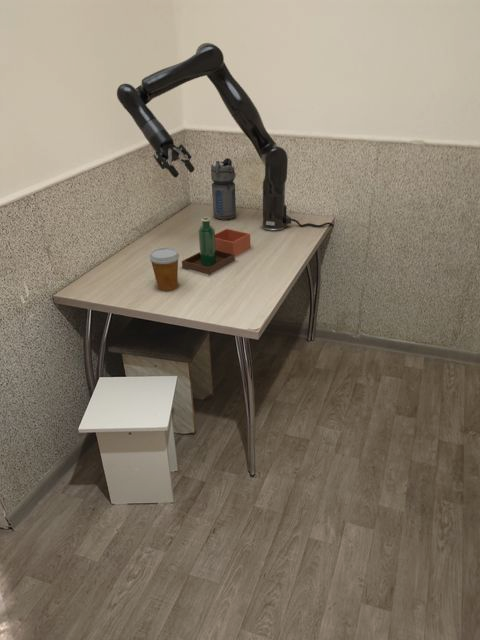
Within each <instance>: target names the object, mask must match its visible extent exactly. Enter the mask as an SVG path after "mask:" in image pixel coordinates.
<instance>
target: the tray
mask: <svg viewBox="0 0 480 640" xmlns="http://www.w3.org/2000/svg"><path fill="white" fill-rule="evenodd" d="M235 261H236V256H235V254H231V253H227V252H223V251H219V250H216V264H214V265H213V266H203V265H201V260H200V251H199V252H197V253H195V254H193V255H191V256H189V257H187V258H184V259H183V260H181V267H182V269H185V270H187V271H189V270H190V271H194V272H198V273H201V274H204V275H207V276H208V277H209V276H211V275H212V274H214V273H215V272H217V271H219V270H221V269H222V268H224V267H226V266H228V265H229V264H232V263H234V262H235Z"/></svg>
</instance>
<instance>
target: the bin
mask: <svg viewBox="0 0 480 640" xmlns="http://www.w3.org/2000/svg"><path fill="white" fill-rule="evenodd" d="M215 248H216V250H219V251H223V252H227V253H231V254H235V257H236V256H238V255H239V254H241V253H244V252H245V251H247V250H249V249H251V233H248V232H243V231H239V230H235V229H231V228H225V229H222V230H220V231H218V232H215Z"/></svg>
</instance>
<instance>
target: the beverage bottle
mask: <svg viewBox="0 0 480 640" xmlns="http://www.w3.org/2000/svg"><path fill="white" fill-rule="evenodd" d="M232 162H233V161H232V159H230V158H228V157H227V158H224V159H223V161H221V162H220V161H219V160H217V161H216V162H215V165H214V164H211V166H210V177H211V178H210V179H211V181H212V182H213V183H211V198H212V213H213V217H214V218H215V219H217V220H221V221H227V220H232V219H234V218H235V217H236V215H237V203H236V183H235V182H234V181H235V180H236V172H235V171H236V170H235V167H234V166H233V165H232V164H233V163H232Z"/></svg>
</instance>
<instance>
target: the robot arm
mask: <svg viewBox="0 0 480 640" xmlns="http://www.w3.org/2000/svg"><path fill="white" fill-rule="evenodd" d="M202 77H207V78H208V79H209V81H210V82H211V83H212V85H213V86H214V88H215V89H216V91H217V94H218V95H219V96H220V99H221V101H222V102H223V104H224V106H225V108H226V109H227V111H228V112H229V114H230V116H231V117H232V119H233V120H234V121H235V123H236V124H237V126H238V127H239V129H240V130H241V131H242V132H243V134H244V135H245V136H246V137H247V139H248V140H249V141H250V142H251V144H252V145H253V147H254V149H255V151H256V152H257V154H258V156H259V158H260V161H261V162H262V164H263V165H264V177H263V179H262V229H263V230H265V231H272V232H276V231H281V230H284V229H287V225H289V224H290V225H291V224H292V222H295V223H296V224H297V226H299V227H302V228H303V227H306V226H307V227H308V226H310V227H314V228H315V227H316V228H321V227H324V226H327V225H330V226H331V227H334V224H333V223H332V222H324V223H323V224H314V223H310V222H308V223H303V224H302V223H300V221H298V220H297V219H295V218H292V217H291V216H289V215H288V214H287V208H288V206H287V205H286V182H287V178H288V168H289V167H288V165H289V163H288V161H289V158H288V154H287V151H286V150H285V149H284V148H283V147H281V146H280V145H278V144H277V143H276V142H275V140H274V139H273V138H272V137H271V134H269V132H268V131H267V129H266V127H265V125H264V122H263V120H262V117H261V114H260V112H259V110H258V107H256V105H255V103H254V102H253V100H252V99H251V98H250V96H249V94H248V93H247V92H246V90H245V89H244V87H242V85H241V84H240V83H239V82H238V80H236V79H235V78H234V77H233V75H232V73H231V72H230V70H229V68H228V66H227V64H226V62H225V57H224V53H223V51H222V49H221V48H220V47H219V46H218V45H215V44H214V43H212V42H211V43H210V42H203V43H202V44H200V45H199V46H198V47H197V49H196V51H195V54H193V55H192V56H191V57H189V58H187V59H185V60H183V61H181V62H179V63H177V64H173V65H171V66H168V67H165V68H162V69H159V70H158V71H155V72H153V73H151V74H149V75H147V76H145V77H144V78H142V79H141V82H140V85H138V86H137V87H135V86H133V85H132V84H129V83H122V84H119V86H118V87H117V90H116V98H117V100H118V101H119V103H120V105H121V106H122V108H123V109H124V110H126V112H127V113H128V114H129V115H130V116H131V118H132V119H133V121H134V123H135V125H136V126H137V127H138V129H139V130H140V131H141V134H142V135H143V137H145V139H146V140H147V142H148V143H149V145H150V146H151V148H152V149H153V150H154V151H155V152H154V154H153V155H152V156H153V159H155V161H156V163H157V164H158V165H159V167H160V168H161V170H167V171H168V172H169V173H170V175H171V176H172V177H173V178H178V176H179V175H180V173H179V171H178V170H177V168H176V167H175V166H174V165H173V162H176V161H177V162H178V163H182V164H183V165H184V166H185V167H186V169H187V171H188V172H189V173H194V171H195V166H194V165H193V164H192V162H191V161H190V160H191V159H192V155H191V154H190V152H188V150H187V148H185V147H184V145H183V144H179V146H176V145H175V143H174V138H172V135H171V134H170V133H169V131H168V130H167V128H165V126H164V125H163V124H162V123H161V122H160V121H159V120H158V119H157V117H156V116H155V114H154V113H153V112H152V110H151V109H150V108H149V107H148V106H147V105H148V104H149V103H150V102H151V101H152V100H153V99H156V98H157V97H160V96H161V95H165V94H166V93H168V92H170V91H172V90H174V89H176V88H178V87H180V86H181V85H184V84H186V83H188V82H190V81H193V80H195V79H199V78H202Z"/></svg>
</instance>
